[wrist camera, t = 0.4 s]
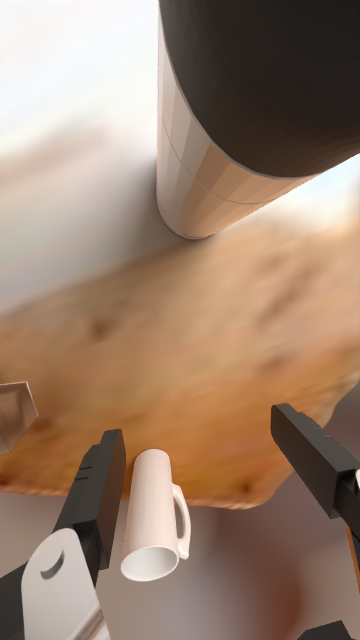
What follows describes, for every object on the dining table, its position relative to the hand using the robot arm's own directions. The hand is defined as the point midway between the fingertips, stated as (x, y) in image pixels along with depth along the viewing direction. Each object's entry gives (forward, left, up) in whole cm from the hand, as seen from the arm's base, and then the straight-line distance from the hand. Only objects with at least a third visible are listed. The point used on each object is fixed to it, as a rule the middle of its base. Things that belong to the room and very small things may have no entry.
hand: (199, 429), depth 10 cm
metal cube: (+9, -24, -18) cm, 31 cm away
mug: (+26, -4, -18) cm, 32 cm away
